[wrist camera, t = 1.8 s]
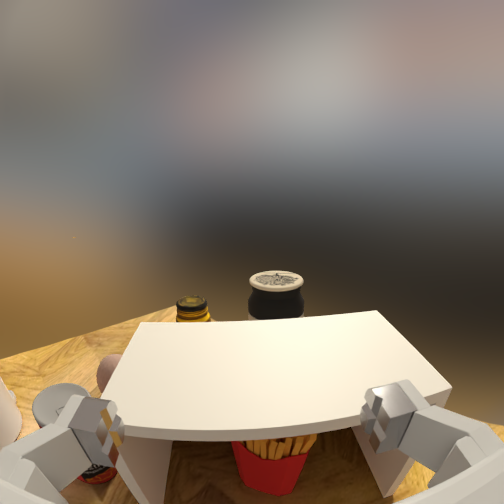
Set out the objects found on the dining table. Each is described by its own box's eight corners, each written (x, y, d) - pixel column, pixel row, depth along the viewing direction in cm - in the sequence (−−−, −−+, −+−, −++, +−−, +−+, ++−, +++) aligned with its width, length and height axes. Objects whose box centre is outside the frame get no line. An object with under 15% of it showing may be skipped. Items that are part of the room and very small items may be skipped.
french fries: (229, 480, 26) (220, 416, 23) (244, 458, 30) (241, 391, 27) (299, 502, 23) (313, 443, 20) (310, 477, 26) (325, 412, 23)
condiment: (207, 372, 48) (200, 311, 45) (165, 363, 50) (155, 304, 47) (221, 351, 55) (218, 294, 52) (183, 344, 57) (176, 289, 54)
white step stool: (150, 518, 19) (89, 419, 15) (166, 428, 34) (141, 322, 30) (392, 494, 21) (452, 387, 17) (354, 415, 36) (376, 310, 32)
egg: (151, 408, 38) (139, 365, 36) (107, 417, 34) (90, 374, 32) (142, 382, 44) (132, 341, 42) (102, 389, 41) (89, 348, 39)
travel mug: (293, 399, 41) (300, 291, 36) (243, 391, 43) (240, 285, 39) (301, 369, 48) (308, 271, 44) (257, 364, 50) (256, 268, 46)
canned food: (95, 495, 21) (54, 439, 18) (57, 461, 24) (20, 401, 21) (133, 461, 27) (106, 402, 25) (94, 434, 31) (67, 374, 28)
